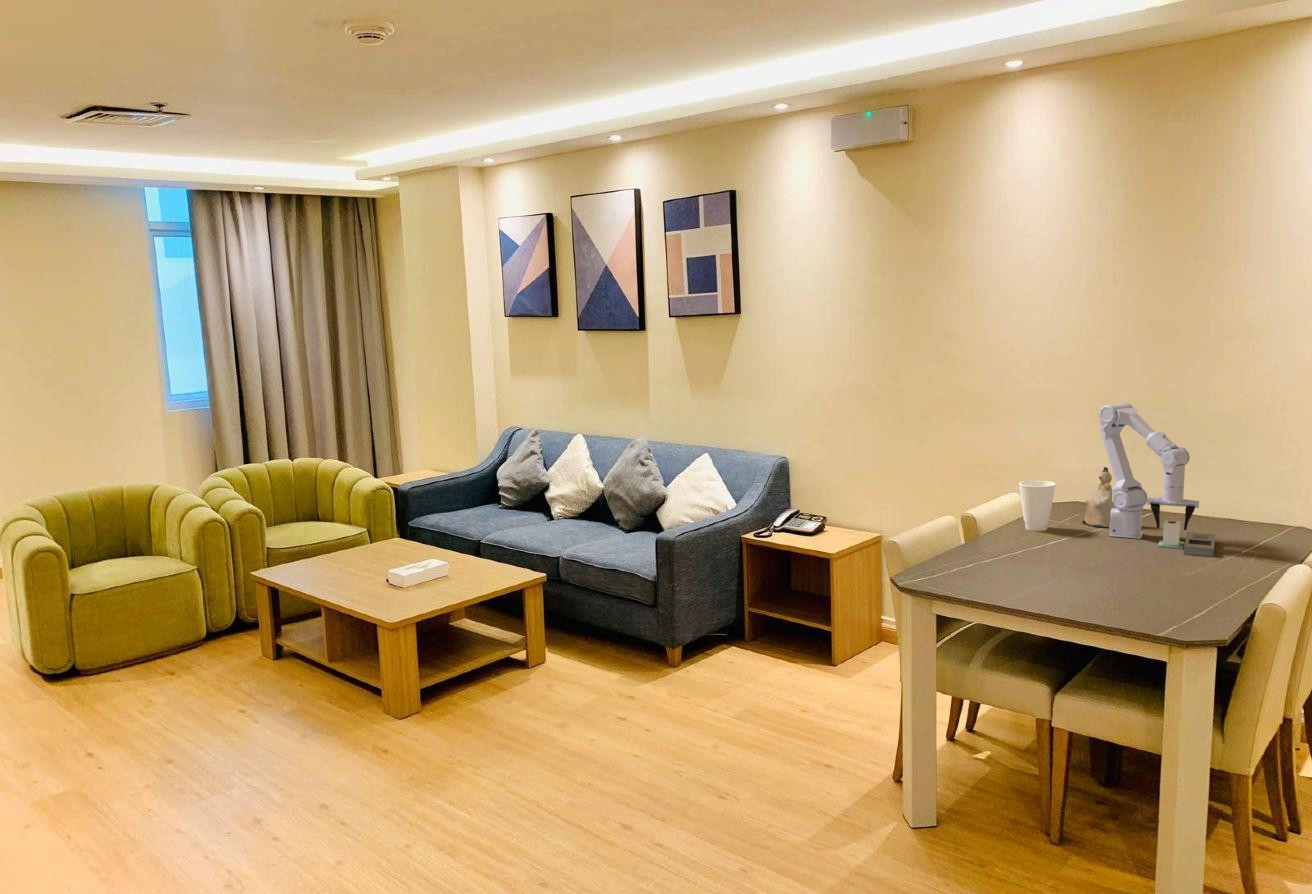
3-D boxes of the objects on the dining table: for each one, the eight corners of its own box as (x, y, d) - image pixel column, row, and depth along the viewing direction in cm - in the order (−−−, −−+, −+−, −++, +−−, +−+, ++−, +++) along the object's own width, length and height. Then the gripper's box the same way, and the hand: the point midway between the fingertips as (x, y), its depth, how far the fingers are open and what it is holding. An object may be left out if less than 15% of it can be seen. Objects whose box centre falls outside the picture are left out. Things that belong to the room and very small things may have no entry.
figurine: (1076, 522, 353) (1078, 466, 350) (1101, 519, 356) (1103, 464, 353) (1100, 529, 342) (1102, 471, 339) (1125, 526, 345) (1127, 469, 342)
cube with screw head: (1162, 544, 317) (1163, 522, 316) (1163, 541, 321) (1164, 519, 320) (1178, 546, 315) (1179, 523, 314) (1179, 542, 319) (1180, 520, 318)
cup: (1010, 527, 349) (1011, 482, 346) (1035, 523, 354) (1037, 478, 351) (1036, 534, 338) (1037, 487, 336) (1062, 529, 343) (1063, 484, 340)
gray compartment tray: (1183, 554, 307) (1184, 546, 307) (1186, 539, 325) (1187, 531, 324) (1213, 556, 303) (1213, 548, 303) (1215, 541, 321) (1215, 533, 320)
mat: (1158, 547, 317) (1158, 545, 317) (1159, 541, 323) (1159, 540, 323) (1182, 549, 313) (1183, 547, 313) (1184, 544, 319) (1184, 542, 319)
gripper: (1147, 486, 315) (1145, 528, 317) (1199, 490, 308) (1197, 533, 310) (1148, 482, 321) (1147, 524, 323) (1200, 485, 314) (1197, 528, 316)
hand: (1171, 528), depth 317 cm, fingers open, 7 cm apart
